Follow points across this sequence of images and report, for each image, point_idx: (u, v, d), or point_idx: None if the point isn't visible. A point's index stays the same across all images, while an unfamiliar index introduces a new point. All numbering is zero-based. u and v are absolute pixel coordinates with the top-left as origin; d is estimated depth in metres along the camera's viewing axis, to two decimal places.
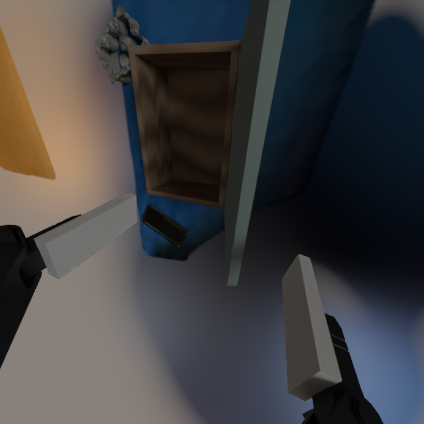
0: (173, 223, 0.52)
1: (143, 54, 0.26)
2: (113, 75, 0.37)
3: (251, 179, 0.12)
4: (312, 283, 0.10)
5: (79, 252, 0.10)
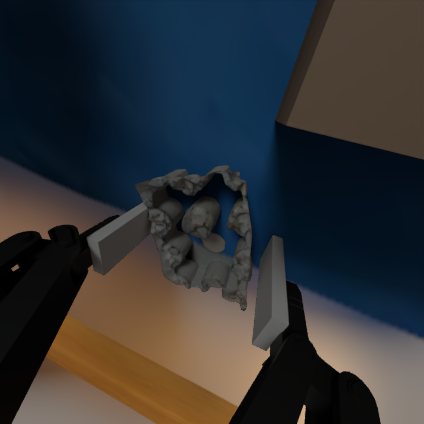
0: None
1: None
2: (225, 285, 0.15)
3: None
4: (280, 257, 0.11)
5: (119, 250, 0.11)
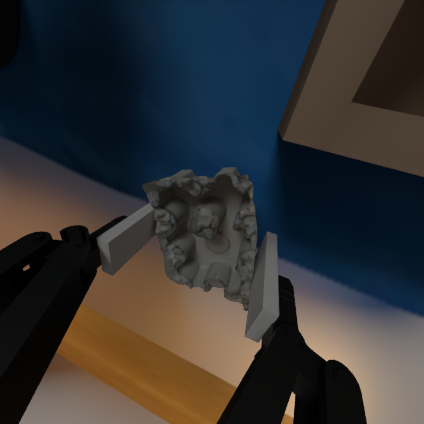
0: None
1: None
2: (227, 285, 0.15)
3: None
4: (273, 252, 0.11)
5: (127, 250, 0.11)
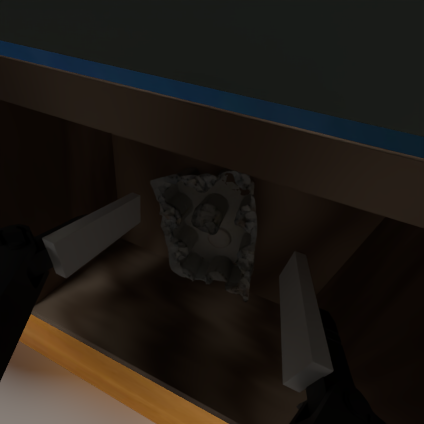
0: None
1: None
2: (228, 278, 0.16)
3: None
4: (307, 279, 0.10)
5: (85, 251, 0.10)
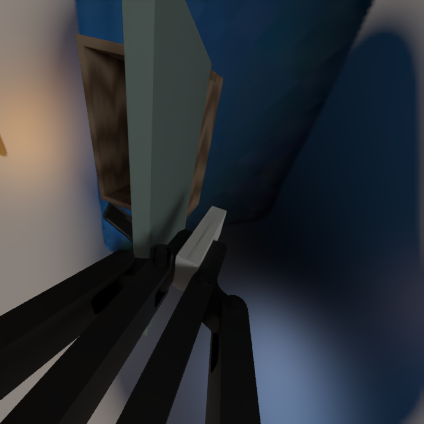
0: None
1: (94, 48, 0.22)
2: None
3: (143, 256, 0.11)
4: (216, 223, 0.13)
5: None
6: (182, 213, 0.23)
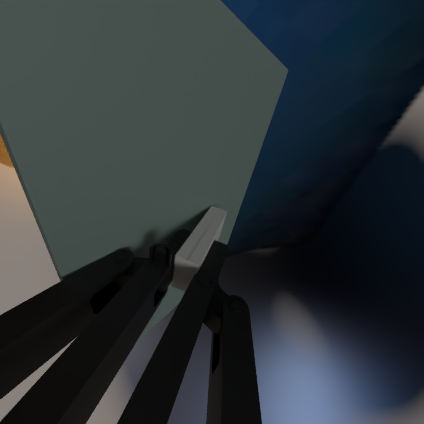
0: None
1: None
2: None
3: None
4: (217, 223, 0.13)
5: None
6: None
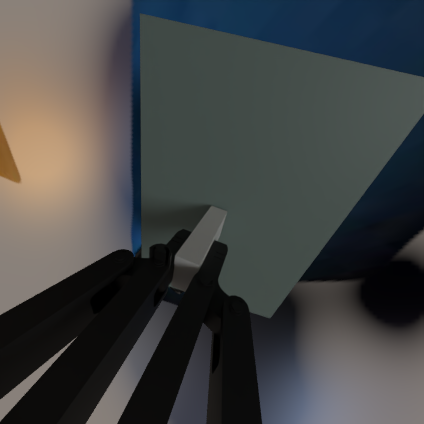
0: None
1: None
2: None
3: None
4: (217, 223, 0.13)
5: None
6: (246, 266, 0.18)
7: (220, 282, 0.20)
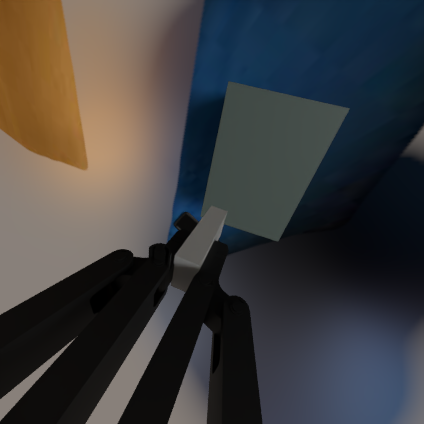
0: None
1: None
2: None
3: None
4: (217, 223, 0.13)
5: None
6: (265, 203, 0.32)
7: (249, 216, 0.34)
